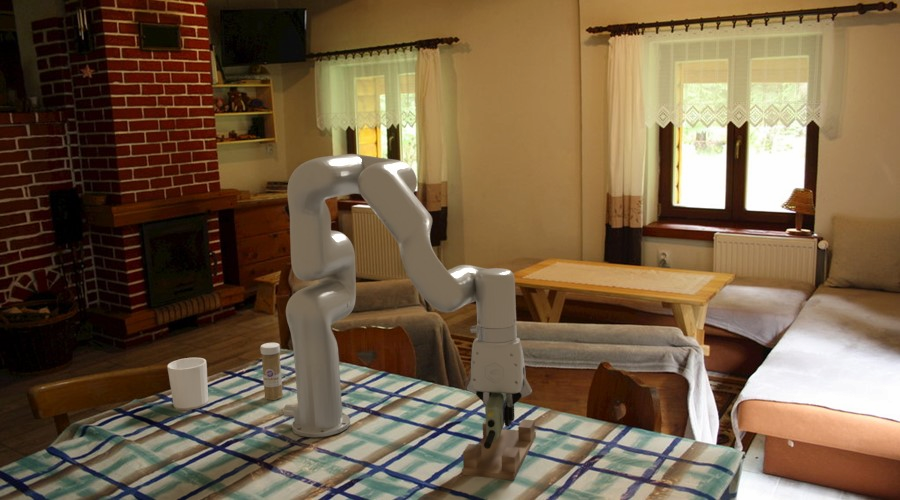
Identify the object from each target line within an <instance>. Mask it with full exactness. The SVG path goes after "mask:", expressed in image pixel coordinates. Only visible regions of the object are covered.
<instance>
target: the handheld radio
mask: <svg viewBox="0 0 900 500" xmlns="http://www.w3.org/2000/svg"><path fill="white" fill-rule="evenodd" d="M506 403H507V401H506V393H493V392H492V393H491V395H490V397H489V400H488V402H487V404H486V406H485V405H484V409H485V411H484V412H485V419H486V432H487V438H486V441H485V443H484V447H485V448H486V449H489V448H490V447H491V444H492V442H496V440H497V439H498V438H499V437H500V434H501V431H502V429H504V426H505V412H504V408H505V406H506Z"/></svg>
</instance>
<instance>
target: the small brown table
mask: <svg viewBox="0 0 900 500" xmlns="http://www.w3.org/2000/svg"><path fill="white" fill-rule="evenodd" d="M484 419H485V420H484V421H483V423H482V439H481V440H480V441H479V443H478V444H475V443H468V444H467V445H466V447H465V449H464V450H463V451H462V460H463V463H462V466H463V467H462V469H461V475H463V476H471V477H482V478H490V479H500V480H508V481H509V480H510V481H515V480H516V477H517V476H518V473H519V471H520V469H521V467H522V465H523V463H524V461H525V459H526V457H527V455H528V453H529V451H530V449H531V447H532V446H533V443H534V441H535V439H536V437H537V435H536V434H537V433H536V430H535V427H536V426H535V420H534V419H533V420H532V419H523V418H522V420H521V421H520V423H519V426H518V427H517V430H514V429H507V428H505V429H504V428H503V429H502V431H501V434H500V437H499V438H498V439H497V440H496V442H492V444H491V447H490V448H489V449H486V448H485V447H484V443H485V441H486V438H487V432H486V418H484Z"/></svg>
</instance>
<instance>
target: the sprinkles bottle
mask: <svg viewBox="0 0 900 500" xmlns="http://www.w3.org/2000/svg"><path fill="white" fill-rule="evenodd" d="M259 349H260V355H261V365H262V380H263V387H264V390H263V391H264V399H265V400H267V401H276V400H280V399H281V398H283V396H284V394H283V381H282V379H283V377H282V367H281V358H280V357H281V355H280V352H281V345H280V343H277V342H266V343H263V344H261V345H260V348H259Z"/></svg>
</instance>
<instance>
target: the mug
mask: <svg viewBox="0 0 900 500" xmlns="http://www.w3.org/2000/svg"><path fill="white" fill-rule="evenodd" d="M207 366H208V365H207V360H206V359H205V358H202V357H187V358H186V357H184V358H180V359H177V360H173V361H170V362H169V363H168V364H167V372H168V379H169V385H170V390H171V397H172V403H173V408H175V410H178V411H190V410H196V409H200V408H202V407H204V406H206V405H207V404H208V403H209V392H208V389H209V388H208V368H207Z"/></svg>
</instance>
